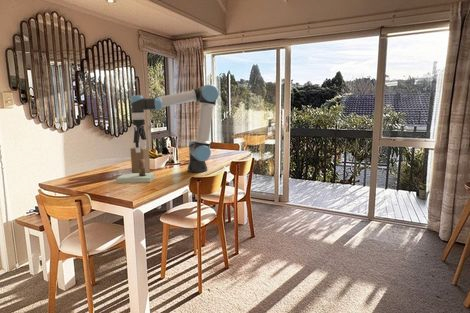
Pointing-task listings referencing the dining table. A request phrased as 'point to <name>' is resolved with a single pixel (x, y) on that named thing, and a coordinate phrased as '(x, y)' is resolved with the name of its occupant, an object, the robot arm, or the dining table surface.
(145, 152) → the wooden block
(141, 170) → the walnut peg
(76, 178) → the dining table surface
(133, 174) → the board
